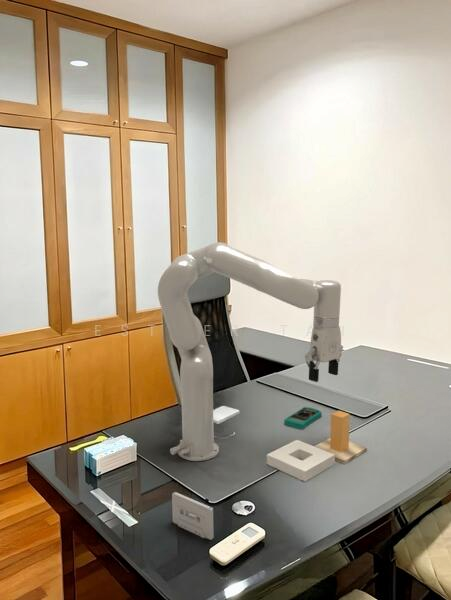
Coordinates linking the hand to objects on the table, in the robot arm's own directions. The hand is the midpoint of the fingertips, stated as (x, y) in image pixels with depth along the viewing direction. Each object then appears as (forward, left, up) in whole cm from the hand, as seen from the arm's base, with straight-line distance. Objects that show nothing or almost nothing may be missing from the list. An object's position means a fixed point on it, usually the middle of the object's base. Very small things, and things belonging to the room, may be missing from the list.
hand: (323, 377), depth 160 cm
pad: (+2, -5, -23) cm, 24 cm away
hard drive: (-4, +41, -24) cm, 48 cm away
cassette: (-56, -4, -23) cm, 60 cm away
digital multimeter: (+13, +17, -24) cm, 32 cm away
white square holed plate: (-13, -2, -23) cm, 26 cm away
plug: (+2, -5, -22) cm, 23 cm away
